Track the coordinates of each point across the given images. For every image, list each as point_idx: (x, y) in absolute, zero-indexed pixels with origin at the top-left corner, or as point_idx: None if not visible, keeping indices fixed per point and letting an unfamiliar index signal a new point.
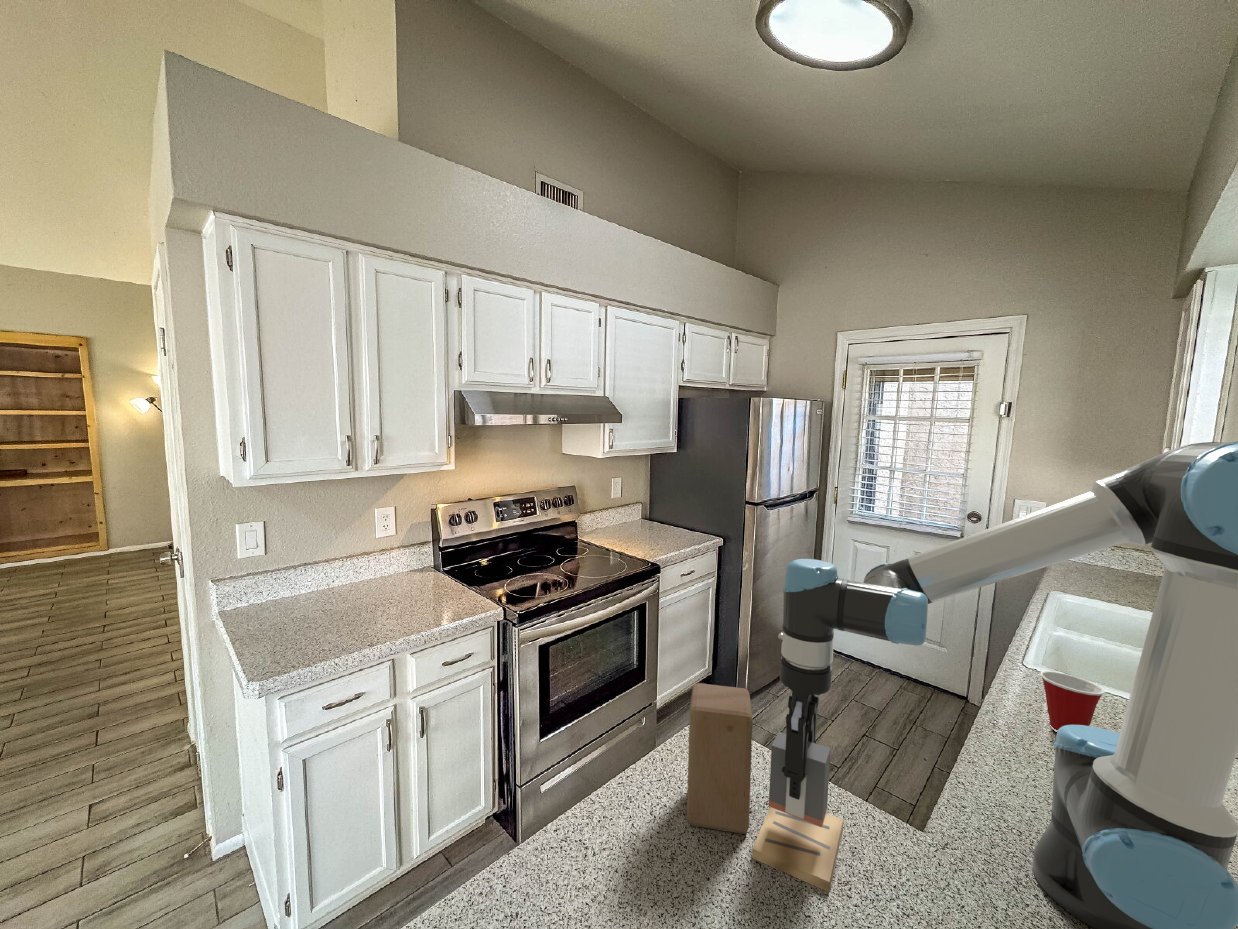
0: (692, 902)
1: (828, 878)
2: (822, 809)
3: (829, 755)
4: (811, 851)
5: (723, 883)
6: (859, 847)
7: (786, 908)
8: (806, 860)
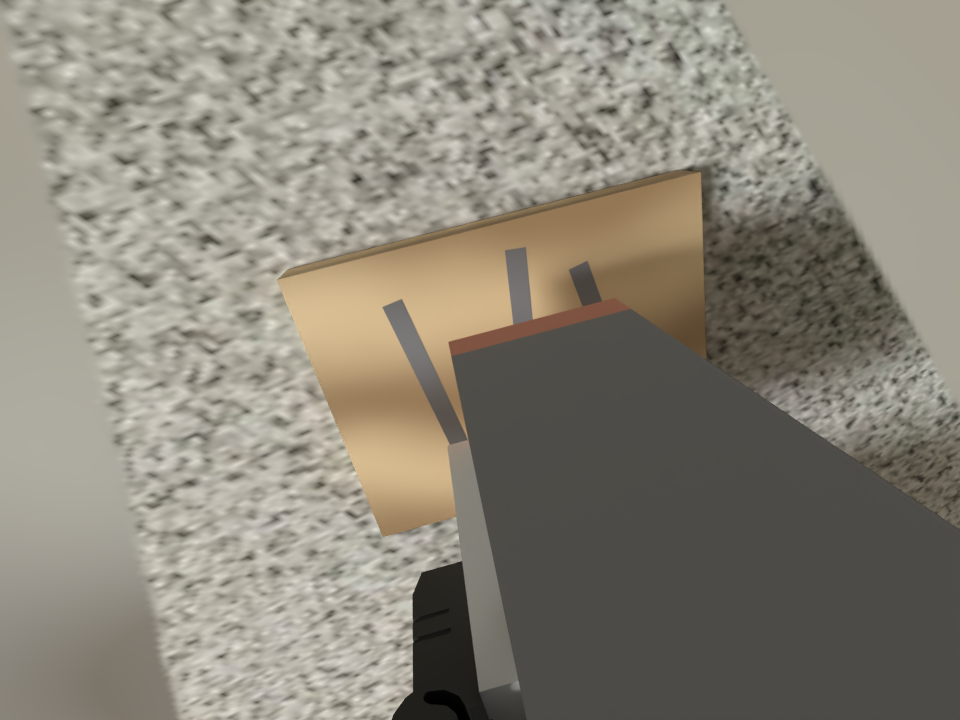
0: (918, 445)
1: (687, 182)
2: (668, 337)
3: (602, 697)
4: (586, 298)
5: (824, 430)
6: (339, 164)
7: (820, 255)
8: (646, 291)
